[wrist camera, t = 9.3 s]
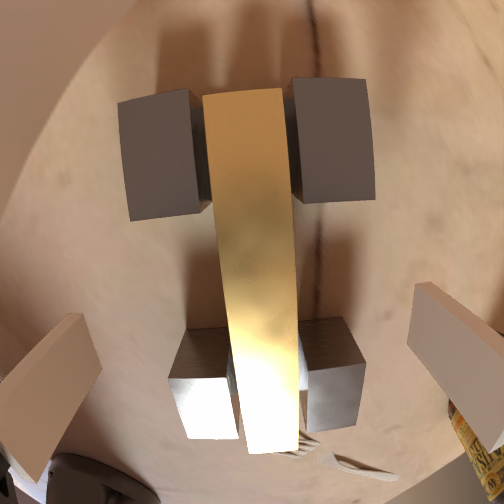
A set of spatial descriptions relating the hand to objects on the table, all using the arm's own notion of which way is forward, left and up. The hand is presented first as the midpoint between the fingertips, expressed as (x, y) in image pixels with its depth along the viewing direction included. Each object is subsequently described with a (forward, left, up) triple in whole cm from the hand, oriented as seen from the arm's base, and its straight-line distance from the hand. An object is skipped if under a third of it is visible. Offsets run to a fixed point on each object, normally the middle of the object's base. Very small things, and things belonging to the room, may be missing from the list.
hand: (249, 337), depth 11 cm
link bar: (+1, 0, -6) cm, 6 cm away
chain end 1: (0, +7, -7) cm, 10 cm away
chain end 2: (0, -6, -7) cm, 9 cm away
